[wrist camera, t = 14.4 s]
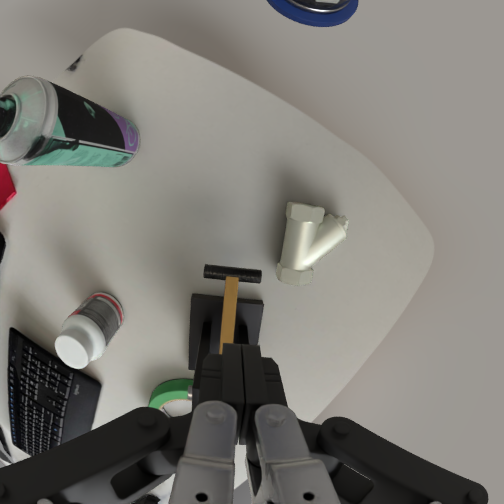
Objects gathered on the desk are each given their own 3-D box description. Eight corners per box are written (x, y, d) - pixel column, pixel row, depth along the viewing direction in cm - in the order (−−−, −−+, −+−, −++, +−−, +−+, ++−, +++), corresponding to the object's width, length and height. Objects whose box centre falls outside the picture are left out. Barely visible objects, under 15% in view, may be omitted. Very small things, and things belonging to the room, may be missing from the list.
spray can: (149, 128, 28) (38, 72, 8) (126, 174, 29) (-4, 182, 9) (109, 112, 27) (-14, 58, 7) (88, 156, 28) (-49, 150, 8)
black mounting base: (192, 293, 33) (173, 358, 20) (262, 300, 33) (279, 367, 21) (189, 364, 35) (175, 439, 23) (251, 369, 36) (260, 445, 23)
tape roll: (241, 397, 37) (242, 410, 34) (207, 438, 39) (206, 450, 36) (167, 365, 35) (163, 378, 32) (141, 411, 37) (137, 423, 34)
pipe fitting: (342, 209, 32) (285, 200, 30) (358, 214, 28) (295, 204, 27) (328, 277, 34) (273, 272, 32) (342, 289, 30) (282, 285, 29)
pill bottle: (92, 283, 31) (52, 318, 22) (130, 304, 32) (99, 347, 23) (83, 317, 32) (47, 357, 23) (118, 337, 33) (90, 383, 24)
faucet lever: (205, 266, 27) (204, 261, 25) (259, 272, 27) (263, 268, 25) (193, 403, 24) (191, 411, 22) (247, 407, 25) (250, 416, 22)
